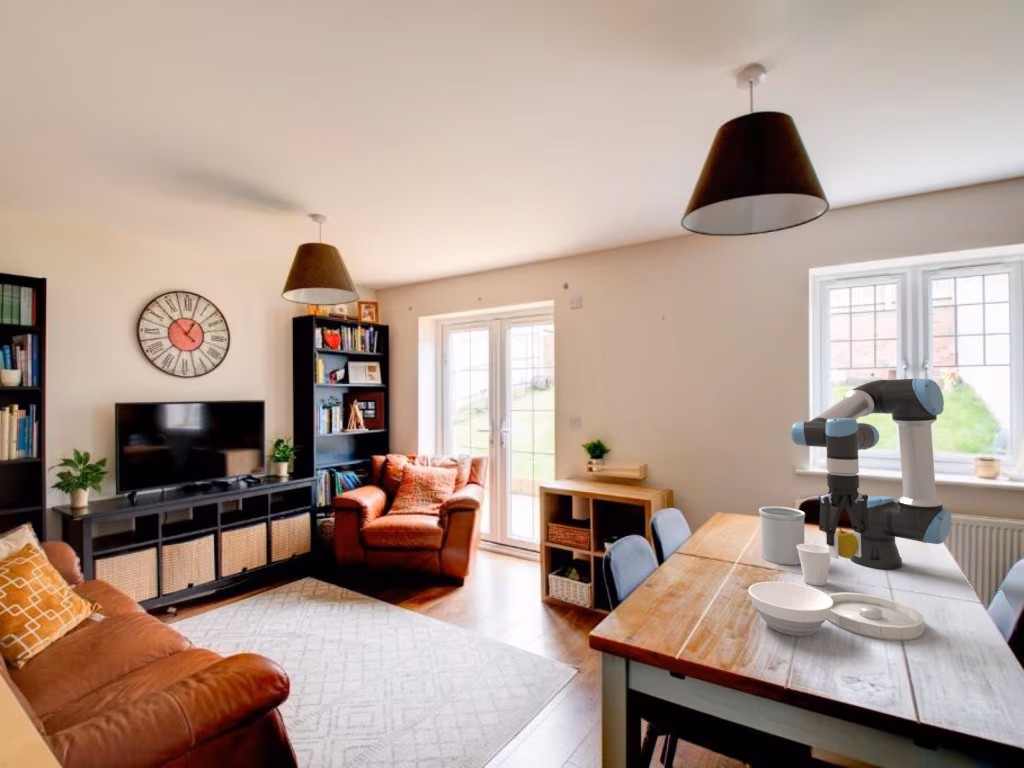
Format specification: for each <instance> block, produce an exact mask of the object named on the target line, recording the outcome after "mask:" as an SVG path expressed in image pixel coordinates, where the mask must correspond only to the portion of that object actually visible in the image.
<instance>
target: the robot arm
mask: <svg viewBox="0 0 1024 768" xmlns="http://www.w3.org/2000/svg"><path fill="white" fill-rule="evenodd" d="M944 406H945V401H944V395H943V393H942V390H941V388H940V386H939V385H938V383H937V382H936V381H935V380H933V379H930V378H901V379H900V378H899V379H897V378H896V379H877V380H873V381H869V382H867V383H864V384H861V385H858V386H857V387H855V388H853V389H851V390H850V391H847V393H845V394H844V396H843V398H842V399H841V400H840V401H838V402H837V403H835V404H834V405H833V406H830V407H829V408H828V409H826V410H825V411H823V412H821V413H820V414H819V415H817V416H816V417H814V418H812V419H811V420H810V421H804V420H803V421H796V422H794V423H793V424H792V426H791V430H790V434H791V435H790V436H791V440H792V442H793V443H794V444H796V445H797V446H804V447H817V448H826V470H827V472H828V473H827V474H826V481H827V482H826V484H827V486H828V492H827V494H825V495H822V494H821V495H819V496H818V501H819V519H818V520H819V522H818V523H819V524H818V525H819V526H818V529H819V531H822V533H823V532H824V533H826V534H825V535H826V536H825V537H826V545H827V546H828V548H829V556H830V557H831V558H833V559H837V560H839V557H840V556H839V552H838V535H837V534H835V532H836V531H837V528H838V525H839V520H840V518H841V517H840V516H841V512H843V510H844V508H845V509H846V512H847V514H848V515H847V516H848V518H849V521H850V524H851V527H852V529H853V530H850V533H852V534H853V535H854V536H855V537H856V539H857V542H858V548H857V551H856V553H855V555H854V556H853V557H852V558H850V559H849V560H850V561H852V562H853V563H855V564H858V565H860V566H864V567H869V568H874V569H881V570H882V569H883V570H896V569H901V568H902V567H903V559H902V556H901V555H900V552H899V549H898V546H897V544H896V543H897V542H896V537H897V538H900V539H905V540H911V541H915V542H916V541H917V542H922V543H923V544H933V545H941V544H943V543H944V542H945V541H946V540H947V538H948V536H949V534H950V531H951V525H952V514H951V511H950V510H949V509H946V508H943V501H942V500H940V499H939V498H938V497H937V496H936V495H937V492H936V490H937V489H936V481H935V480H936V479H935V463H934V450H933V445H934V444H933V433H932V424H934V423H935V422H936V421H937V419H938V417H937V416H938V415H941V414H942V413H943V412H944V409H945V408H944ZM870 414H871V415H872V414H886V415H887V414H888V415H889V414H891V418H892V421H893V422H895V423H896V424H897V425H898V437H899V440H898V441H899V452H900V467H901V481H902V482H901V483H902V496H900V497H899V498H898V499H897V502H896V499H895V498H894V497H893V496H889V495H886V496H885V495H867V494H864V493H860V492H859V491H858V489H859V488H860V476H859V474H858V473H859V472H860V468H859V451H860V450H862V451H863V450H869V449H871V448H874V447H875V446H876V445H877V444H878V442H879V440H880V434H879V430H878V429H877V428H876V427H875V426H874V425H872V424H870V423H865V422H858V421H857V419H859V418H861V417H862V418H863V417H867V416H869V415H870Z"/></svg>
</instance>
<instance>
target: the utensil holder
mask: <svg viewBox="0 0 1024 768" xmlns="http://www.w3.org/2000/svg"><path fill="white" fill-rule="evenodd" d="M758 514H759V523H760V525H759V527H760V549H761V550H760V551H761V557H762V558H763V559H764V560H765V561H768V562H770V563H774V564H778V565H787V566H796V565H801V562H800V558H799V553H798V548H797V545H799V544H805V518H806V512H804V511H802V510H800V509H797V508H793V507H787V506H762V507H759V509H758Z"/></svg>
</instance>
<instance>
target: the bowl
mask: <svg viewBox="0 0 1024 768" xmlns="http://www.w3.org/2000/svg"><path fill="white" fill-rule="evenodd" d="M748 593H749V597H750V599H751V601H752V604H753V605H754V607H755V608H756V609H755V610H756V611H757V613H759V615H760V617H761V619H762V620H763V621H764V622H765V623H766V625H767V626H768V627H769V628H770V629H772V630H774V631H775V632H778V633H781V634H784V635H790V636H794V637H795V636H796V637H809V636H811V635H813V634H815V632H816V631H817V630H819V628H821V626H822V625H823V623H825V621H827V620H826V619H827V617H828V616H829V613H830V611H831V608H832V606H833V600H832V599H831V598H830V597H829V596H828V594H827V593H825V592H823V591H820V590H818V589H816V588H814V587H810V586H807V585H803V584H799V583H792V582H786V581H785V582H784V581H762V582H761V581H760V582H756V583H753V584H752V585H750V586H749V587H748Z"/></svg>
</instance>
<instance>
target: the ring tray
mask: <svg viewBox="0 0 1024 768" xmlns="http://www.w3.org/2000/svg"><path fill="white" fill-rule="evenodd" d="M827 595H828V596H829V597H830V598H831V599H832V600H833V606H832V608H831V611H830V613H829V616H828V617H827V619H826V620H825V621H828V622H829V623H830V624H832V625H834V626H836V627H838V628H840V629H843V630H845V631H848V632H851V633H853V634H856V635H861V636H864V637H868V638H873V639H878V640H886V641H901V642H902V641H904V642H905V641H913V640H917V639H920V638H922V637H923V636H924V635H925V629H926V628H925V618H924V617H925V616H924V615H923V614H922V613H921V612H919V611H917V610H916V608H914V607H912V606H909V605H906V604H904V603H902V602H900V601H897V600H895V599H890V598H886V597H883V596H880V595H879V596H878V595H872V594H867V593H861V592H848V591H847V592H846V591H843V592H833V593H828V594H827Z"/></svg>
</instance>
